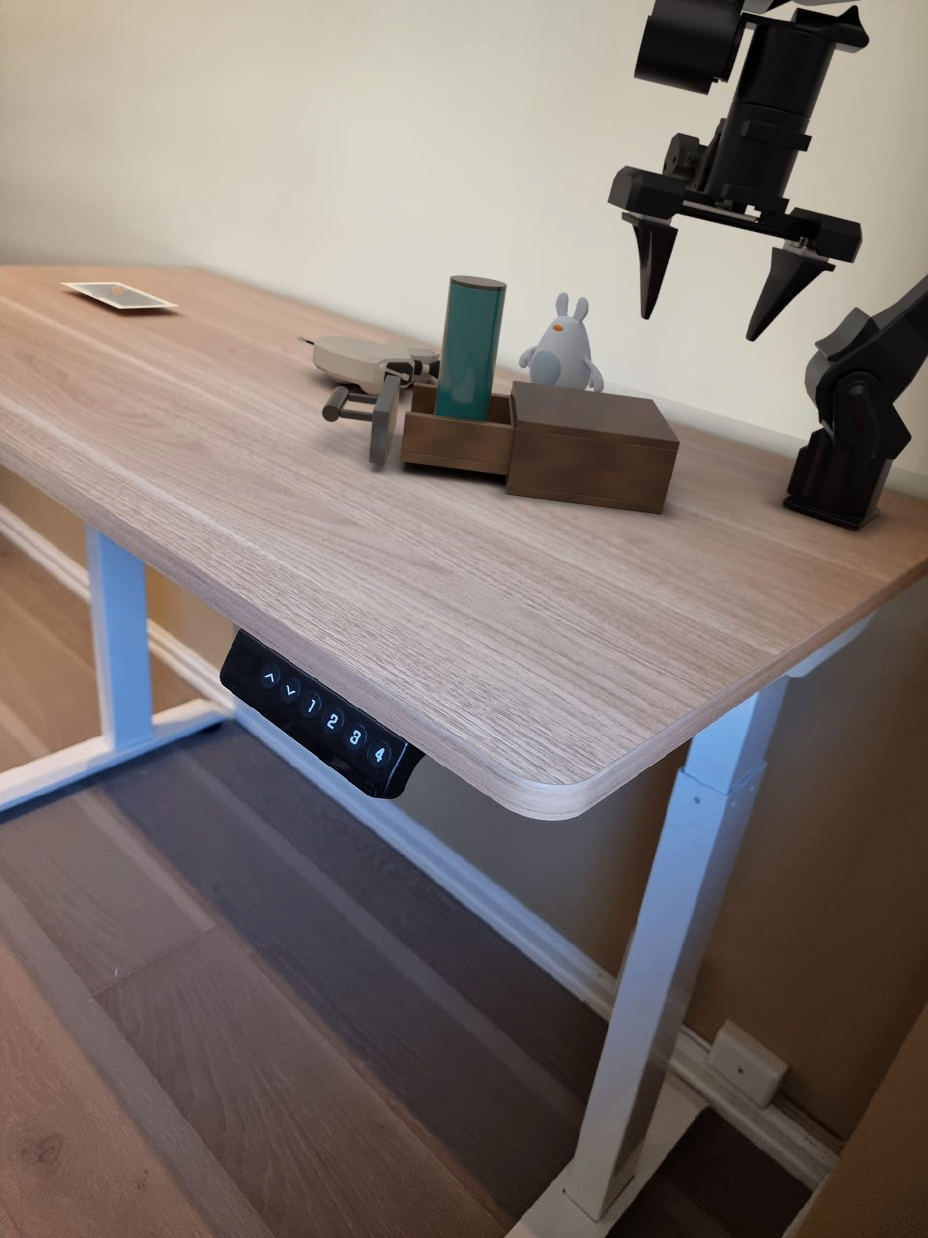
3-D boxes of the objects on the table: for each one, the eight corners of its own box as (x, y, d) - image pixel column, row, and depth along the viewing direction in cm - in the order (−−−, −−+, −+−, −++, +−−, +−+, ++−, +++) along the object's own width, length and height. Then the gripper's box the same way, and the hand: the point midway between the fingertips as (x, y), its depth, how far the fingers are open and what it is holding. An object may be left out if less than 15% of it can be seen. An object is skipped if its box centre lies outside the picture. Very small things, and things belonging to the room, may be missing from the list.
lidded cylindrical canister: (488, 450, 72) (512, 288, 66) (435, 446, 71) (454, 282, 65) (478, 433, 76) (500, 279, 70) (428, 429, 75) (445, 272, 69)
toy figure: (493, 406, 91) (511, 283, 86) (531, 400, 95) (550, 283, 90) (574, 436, 85) (600, 307, 80) (611, 428, 90) (637, 305, 84)
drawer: (314, 455, 68) (317, 402, 66) (335, 415, 78) (338, 368, 76) (514, 481, 69) (522, 429, 67) (510, 439, 79) (517, 392, 77)
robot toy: (391, 372, 101) (288, 374, 90) (397, 331, 100) (292, 329, 89) (472, 401, 95) (371, 407, 84) (480, 358, 93) (378, 359, 82)
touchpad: (119, 290, 118) (118, 273, 117) (179, 315, 110) (179, 297, 108) (60, 291, 113) (59, 273, 112) (119, 317, 104) (118, 298, 103)
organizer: (505, 493, 69) (517, 419, 66) (502, 445, 80) (512, 380, 77) (662, 514, 70) (680, 441, 67) (637, 463, 80) (652, 399, 78)
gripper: (832, 136, 73) (762, 328, 80) (619, 79, 69) (566, 287, 76) (906, 143, 63) (818, 360, 71) (663, 78, 59) (597, 315, 67)
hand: (697, 329), depth 71 cm, fingers open, 9 cm apart
